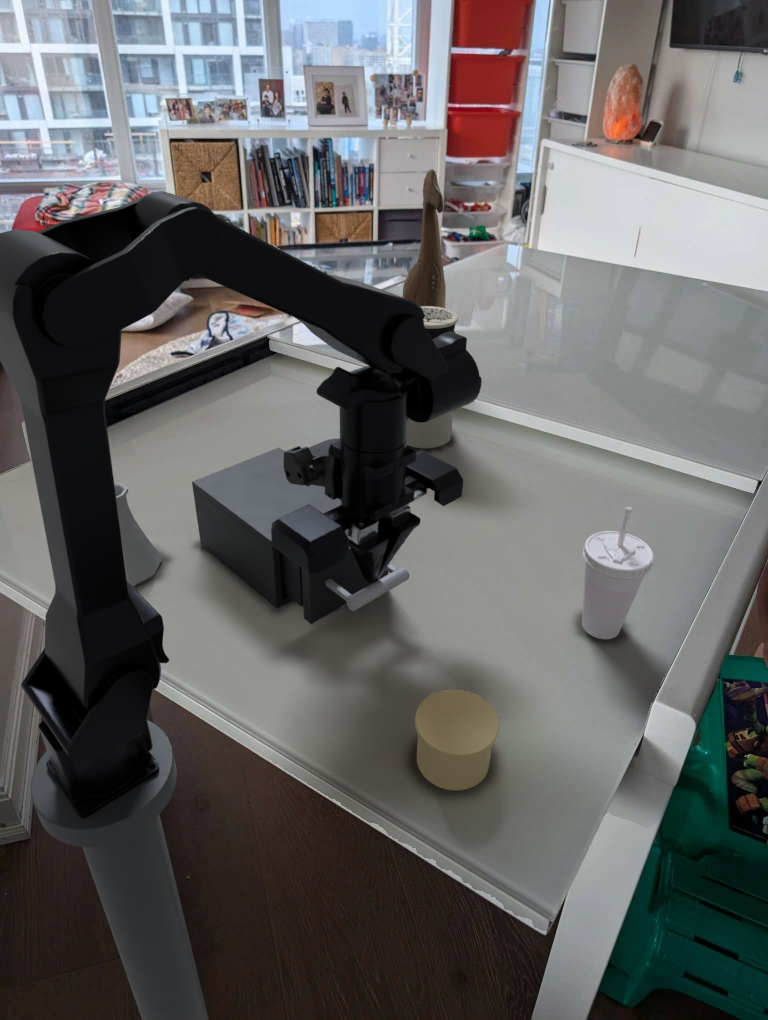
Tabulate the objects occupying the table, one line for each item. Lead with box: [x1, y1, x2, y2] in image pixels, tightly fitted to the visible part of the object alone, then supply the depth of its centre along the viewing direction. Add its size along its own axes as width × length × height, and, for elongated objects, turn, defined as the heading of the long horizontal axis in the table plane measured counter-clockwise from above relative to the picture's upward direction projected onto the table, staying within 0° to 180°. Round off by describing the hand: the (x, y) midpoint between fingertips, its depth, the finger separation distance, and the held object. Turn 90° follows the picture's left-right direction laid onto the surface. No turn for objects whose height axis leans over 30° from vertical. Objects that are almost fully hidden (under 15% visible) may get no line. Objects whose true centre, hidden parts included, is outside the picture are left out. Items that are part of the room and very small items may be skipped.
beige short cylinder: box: [414, 688, 500, 791], centre depth 61 cm, size 7×7×5 cm
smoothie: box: [581, 506, 655, 640], centre depth 72 cm, size 6×6×14 cm
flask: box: [114, 482, 163, 587], centre depth 80 cm, size 7×7×10 cm
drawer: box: [279, 547, 410, 625], centre depth 78 cm, size 18×10×7 cm, turn 43°
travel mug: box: [407, 306, 459, 450], centre depth 104 cm, size 8×8×18 cm
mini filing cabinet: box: [191, 447, 341, 610], centre depth 83 cm, size 15×12×9 cm
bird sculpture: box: [401, 168, 447, 309], centre depth 117 cm, size 11×12×32 cm
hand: (371, 580), depth 73 cm, fingers closed, pressing on drawer
